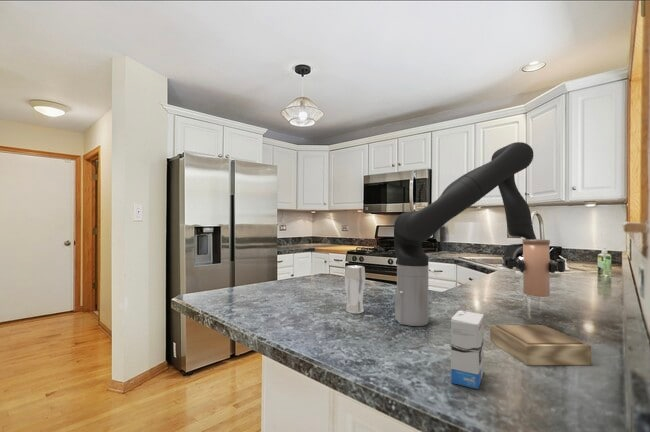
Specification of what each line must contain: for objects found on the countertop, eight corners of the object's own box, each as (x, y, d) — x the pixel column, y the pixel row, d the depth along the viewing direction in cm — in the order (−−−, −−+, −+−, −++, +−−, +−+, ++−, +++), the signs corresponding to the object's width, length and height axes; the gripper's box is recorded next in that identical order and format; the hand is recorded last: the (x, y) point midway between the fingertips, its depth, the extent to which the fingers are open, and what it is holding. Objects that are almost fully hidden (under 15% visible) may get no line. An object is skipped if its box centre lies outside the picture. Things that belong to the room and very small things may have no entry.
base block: (526, 365, 67) (526, 344, 68) (490, 340, 81) (490, 323, 82) (591, 364, 68) (591, 344, 68) (544, 340, 82) (543, 323, 82)
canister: (523, 295, 74) (523, 239, 74) (521, 290, 79) (521, 238, 79) (552, 297, 72) (551, 240, 72) (548, 293, 77) (547, 239, 77)
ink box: (479, 390, 57) (479, 324, 57) (449, 383, 60) (449, 319, 60) (484, 372, 64) (484, 312, 65) (458, 366, 67) (457, 309, 67)
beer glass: (341, 312, 106) (341, 267, 107) (348, 307, 113) (348, 264, 113) (361, 314, 104) (362, 268, 104) (367, 309, 110) (367, 265, 111)
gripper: (499, 245, 92) (501, 249, 77) (561, 247, 85) (576, 252, 70) (499, 271, 91) (501, 281, 76) (561, 275, 85) (577, 287, 70)
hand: (537, 267), depth 73 cm, fingers closed on canister, 5 cm apart
